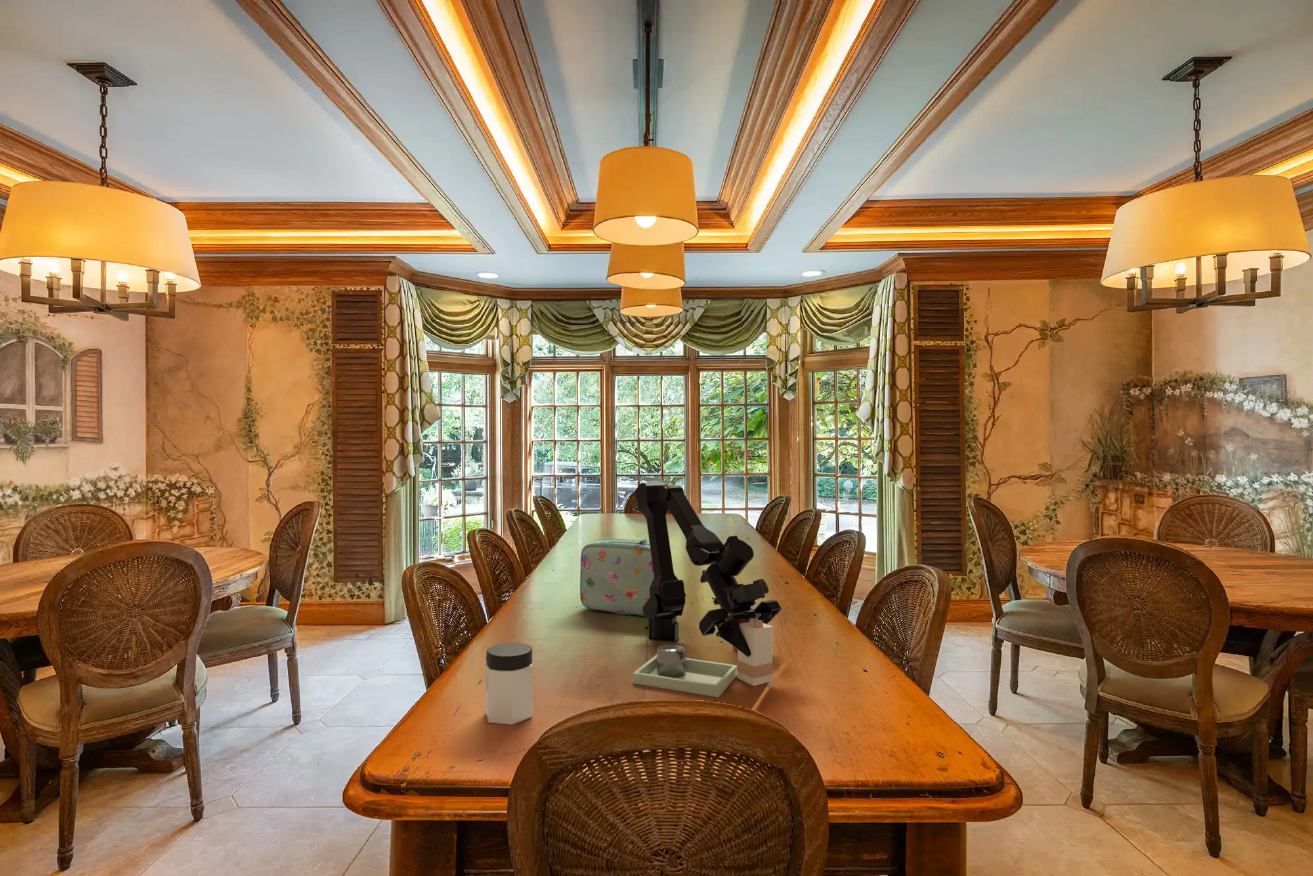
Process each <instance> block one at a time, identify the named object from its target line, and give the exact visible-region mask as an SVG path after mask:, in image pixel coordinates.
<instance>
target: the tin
mask: <svg viewBox="0 0 1313 876" xmlns="http://www.w3.org/2000/svg"><path fill="white" fill-rule="evenodd" d="M686 651H687V648H685V647H684V646H682V645H679V644H678V645H676V644H664V645H660V646H658V647H657V649H656V655H657V674H658V675H659V676H664V677H670V678H679V677H682V676H684V675H685V674H686V658H687V657H686V656H687V655H686V654H687V652H686Z"/></svg>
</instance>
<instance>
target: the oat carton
mask: <svg viewBox="0 0 1313 876" xmlns="http://www.w3.org/2000/svg"><path fill="white" fill-rule="evenodd" d="M740 630H741V632H742V634H743V636H744V638H745V640H746V642H747V644H748V646H749V649H750V652H751V655H750V656H749V657H747V656H746V655H744V654H743V653H742V652H741V651H739V650H738V652H737V676H736V679H739V680H740V681H742V682H745V683H746V684H748V685H750V686H754V687H755V686H758V685H763V684H765V683H767V685H766V688H767V687H770V686H773V657H774V655H773V647H774V646H773V645H774V641H773V639H774V626H772V625H770V624H768V625H767V624H764V623H763V621H761V620H754V621H752V622H747V623H742V624H740Z"/></svg>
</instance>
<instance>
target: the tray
mask: <svg viewBox="0 0 1313 876" xmlns="http://www.w3.org/2000/svg"><path fill="white" fill-rule="evenodd" d="M736 678H737V665H736V664H731V663H723V662H716V661H708V660H701V659H694V658H689V657H686V674H685V675H684V676H682V677H679V678H670V677H664V676H659V675H658V674H657V654H655V655H654V656H653V657H651V658H650V659H649V660H648V661H646V662H645V663H644V664H643V665H641V666H640V667H639V668H637V669H636V670H635V671H633V672H632V684H634V685H640V686H641V685H642V686H645V687H646V686H647V687H653V688H658V689H666V690H671V691H675V692H676V691H677V692H683V693H688V694H694V695H695V694H696V695H702V696H708V697H715V698H719V697H720V696H721V695H722V694H723V693H724V692H725V690H727V688H728V687H729V686H730V685H731V684H732V682H733V681H734V680H735V679H736Z"/></svg>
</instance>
